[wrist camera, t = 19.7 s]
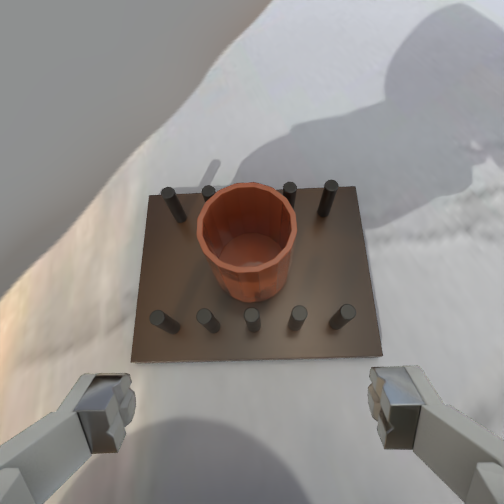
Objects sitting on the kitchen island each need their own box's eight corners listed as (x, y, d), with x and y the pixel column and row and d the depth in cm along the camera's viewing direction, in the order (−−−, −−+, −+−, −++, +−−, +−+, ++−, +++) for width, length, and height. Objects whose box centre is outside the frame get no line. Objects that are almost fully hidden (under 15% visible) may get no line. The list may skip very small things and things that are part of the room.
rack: (352, 193, 29) (368, 156, 25) (378, 357, 24) (404, 350, 19) (153, 202, 30) (131, 167, 25) (136, 363, 25) (104, 358, 20)
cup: (286, 230, 27) (292, 179, 20) (292, 300, 25) (301, 269, 18) (215, 234, 27) (197, 185, 21) (214, 304, 25) (195, 274, 18)
